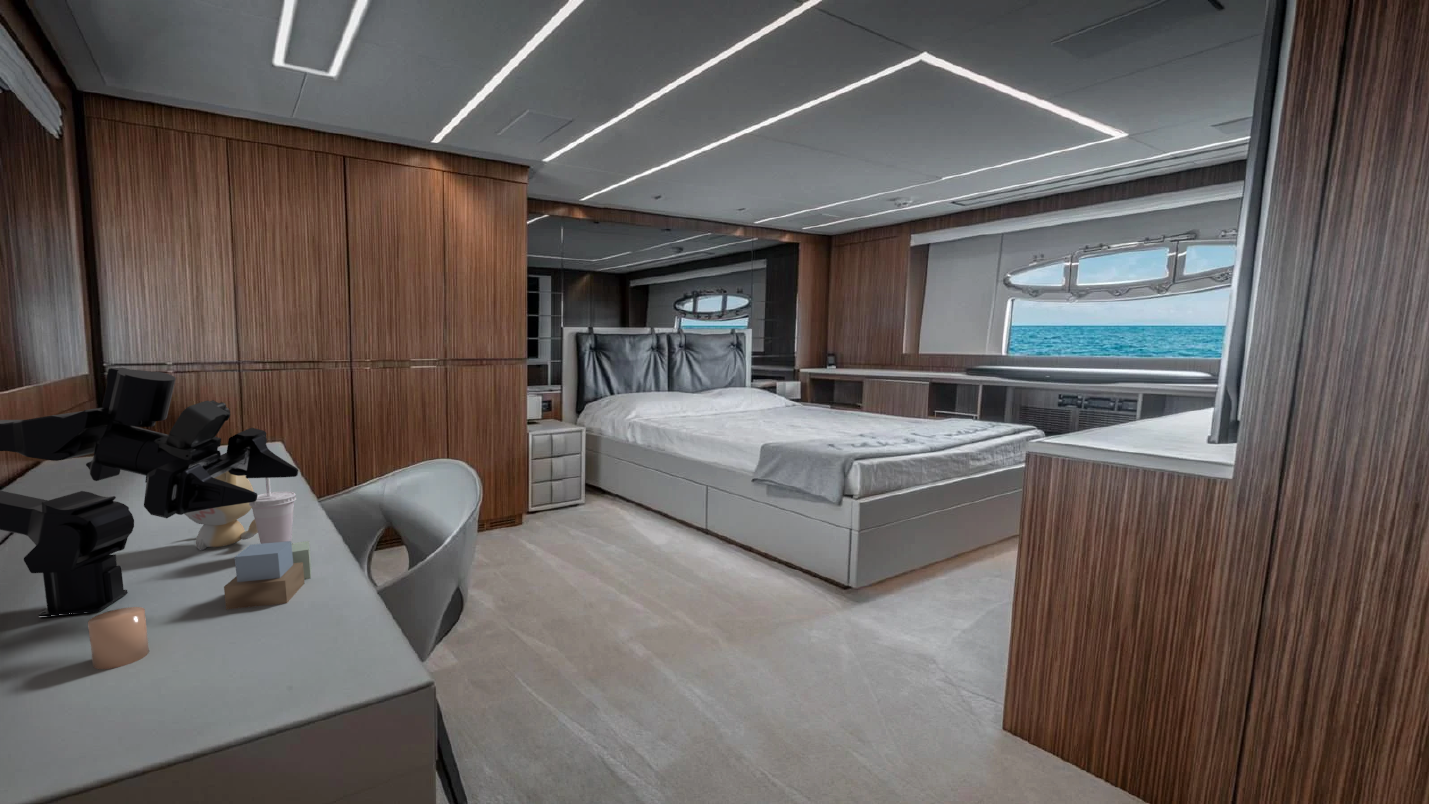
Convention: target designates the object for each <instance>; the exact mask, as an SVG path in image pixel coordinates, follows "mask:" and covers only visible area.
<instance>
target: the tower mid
mask: <svg viewBox="0 0 1429 804" xmlns="http://www.w3.org/2000/svg"><path fill="white" fill-rule="evenodd" d="M234 563H235V565H234V566H235V575H236V576H237V582H245V581H255V580H265V579H274V578H281V577H282V576H283V575H284V574H285V573H286V572H287V571H288V570H289V569H290V568H291V567H292V566H293V555H292V540H291V541H287V542H275V543H264V544H261V543H254V544H249V545H248V546H247V547H246V548H244V549H243V550H242V551H240V552H238V554H237V555H235V556H234ZM236 576H235V577H236Z"/></svg>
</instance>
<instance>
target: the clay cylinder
mask: <svg viewBox="0 0 1429 804" xmlns="http://www.w3.org/2000/svg"><path fill="white" fill-rule="evenodd" d="M145 611H146V610H145V607H144V608H143V607H142V606H141V607H140V606H131V607H122V608H116V609H114V610H110V611H106V612H102V613H100V614H97V615H95V616H93V617H92V618H90V619H89V620H88V622H87V626H88V635H89V644H90V653H91V659H92V660H91V661H92V667H93V668H94V669H96V670H111V669H116V668H120V667H124V666H127V665H131V664H133V663H136V662H138V661H140V660H142V659H144V658H146V656H148V654H150V648H149V638H148V629H147V619H146V612H145Z"/></svg>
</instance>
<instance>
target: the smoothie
mask: <svg viewBox="0 0 1429 804" xmlns="http://www.w3.org/2000/svg"><path fill="white" fill-rule="evenodd" d="M265 488H266V492H265V493H260V494H257V500H256V501H255V502H250V503H249V506H252V508H251V511H252V514H253V517H254V518H253V519H255V522H256V527H257V531H258V533H257V535H258V538H259V539H258V540H259V542H260V543H259V544H264V543H275V542H287V541H291V542H292V536H293V522H294V521H293V520H294V508H295V507H294V505H295V501H297V497H296V496H297V494H296V493H295V492H293V491H272V490H271V478H265Z"/></svg>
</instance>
